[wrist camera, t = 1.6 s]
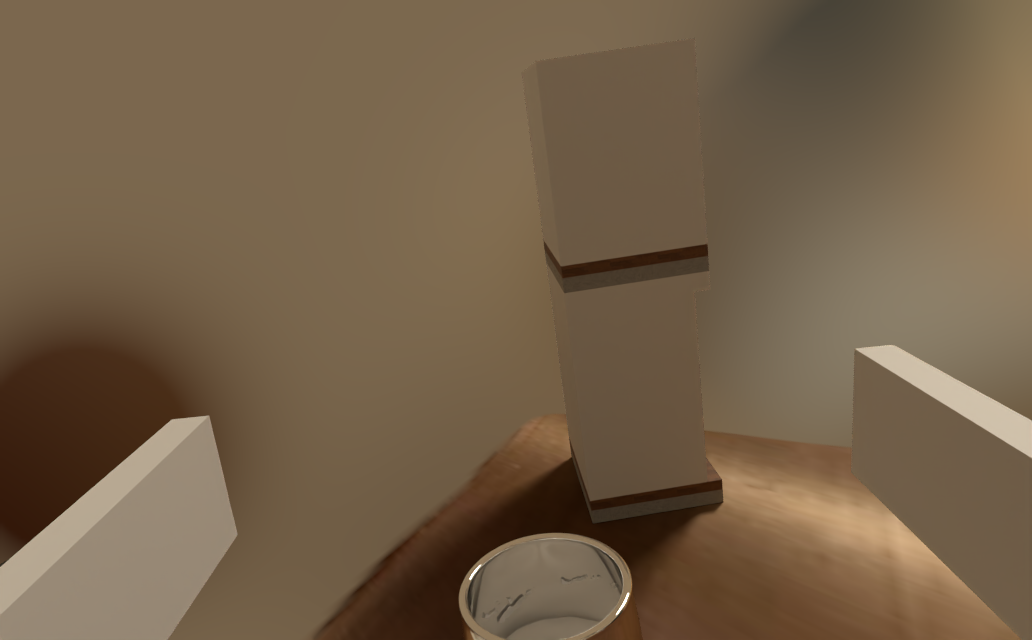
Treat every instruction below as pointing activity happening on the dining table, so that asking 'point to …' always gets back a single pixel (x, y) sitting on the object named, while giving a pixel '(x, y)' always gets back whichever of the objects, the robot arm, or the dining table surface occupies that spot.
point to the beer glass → (549, 592)
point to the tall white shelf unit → (626, 269)
